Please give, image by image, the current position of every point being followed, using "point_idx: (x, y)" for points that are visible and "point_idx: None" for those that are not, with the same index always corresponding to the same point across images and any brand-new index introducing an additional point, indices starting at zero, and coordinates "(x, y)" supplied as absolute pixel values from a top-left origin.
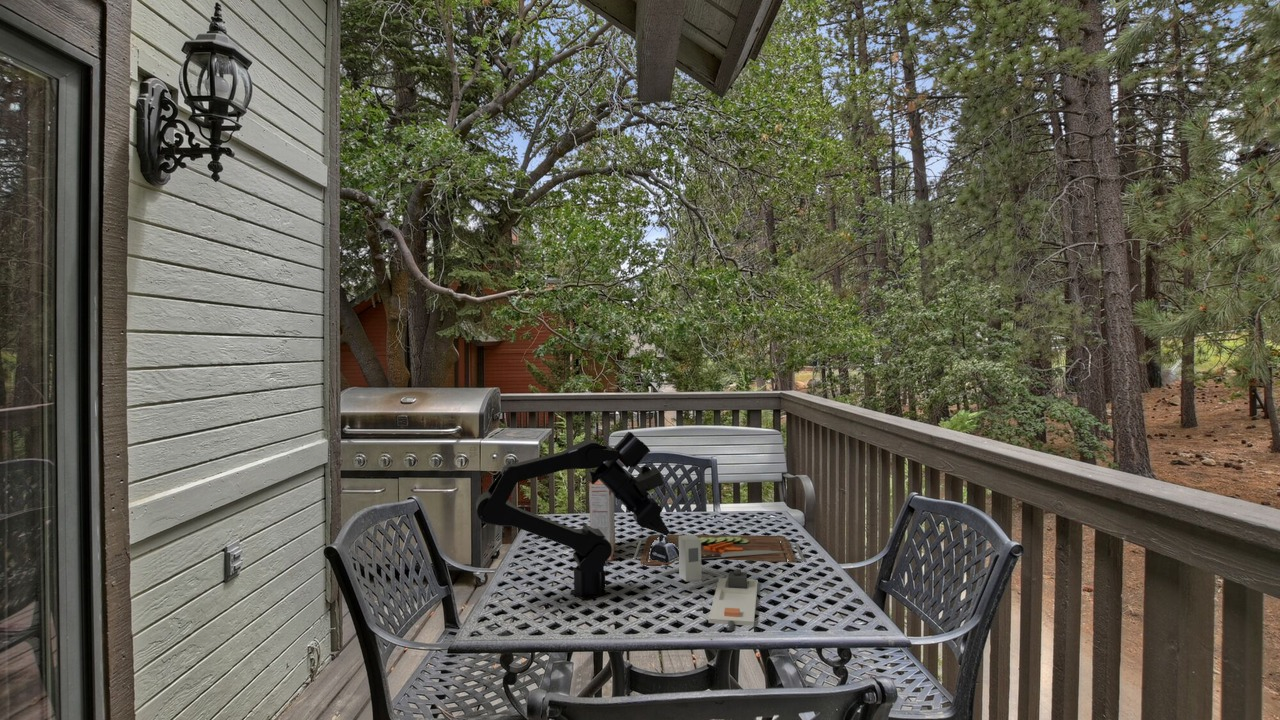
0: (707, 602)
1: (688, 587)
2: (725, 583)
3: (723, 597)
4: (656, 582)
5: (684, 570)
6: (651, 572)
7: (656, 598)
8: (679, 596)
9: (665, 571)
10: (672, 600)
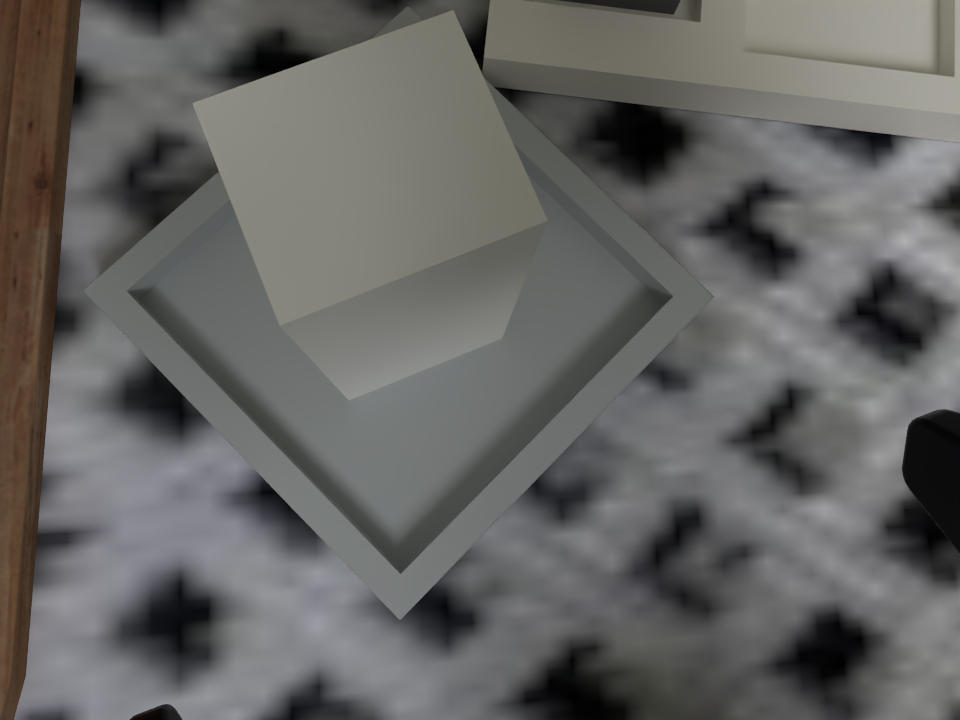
0: (846, 178)
1: (705, 304)
2: (612, 14)
3: (824, 54)
4: (453, 597)
5: (480, 329)
6: (188, 669)
7: (817, 565)
8: (754, 384)
9: (310, 526)
10: (842, 435)
